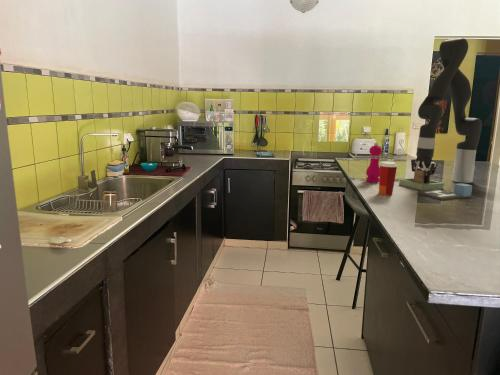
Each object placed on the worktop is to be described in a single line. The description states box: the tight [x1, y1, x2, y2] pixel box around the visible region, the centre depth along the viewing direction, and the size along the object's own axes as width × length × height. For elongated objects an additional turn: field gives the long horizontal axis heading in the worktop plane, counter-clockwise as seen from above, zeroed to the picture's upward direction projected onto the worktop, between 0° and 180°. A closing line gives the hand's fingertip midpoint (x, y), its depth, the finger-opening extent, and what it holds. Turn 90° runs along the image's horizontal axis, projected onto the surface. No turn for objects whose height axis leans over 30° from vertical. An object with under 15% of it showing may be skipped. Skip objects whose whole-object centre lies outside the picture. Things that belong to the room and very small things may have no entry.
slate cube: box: [452, 182, 473, 198], centre depth 174 cm, size 5×5×5 cm
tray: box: [398, 177, 445, 191], centre depth 189 cm, size 14×14×3 cm
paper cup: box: [378, 161, 398, 196], centre depth 171 cm, size 8×8×14 cm
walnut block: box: [413, 169, 431, 184], centre depth 188 cm, size 5×5×6 cm
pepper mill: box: [365, 142, 383, 183], centre depth 197 cm, size 7×7×20 cm
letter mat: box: [416, 189, 464, 201], centre depth 172 cm, size 13×13×1 cm
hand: (421, 181), depth 189 cm, fingers closed on walnut block, 5 cm apart
